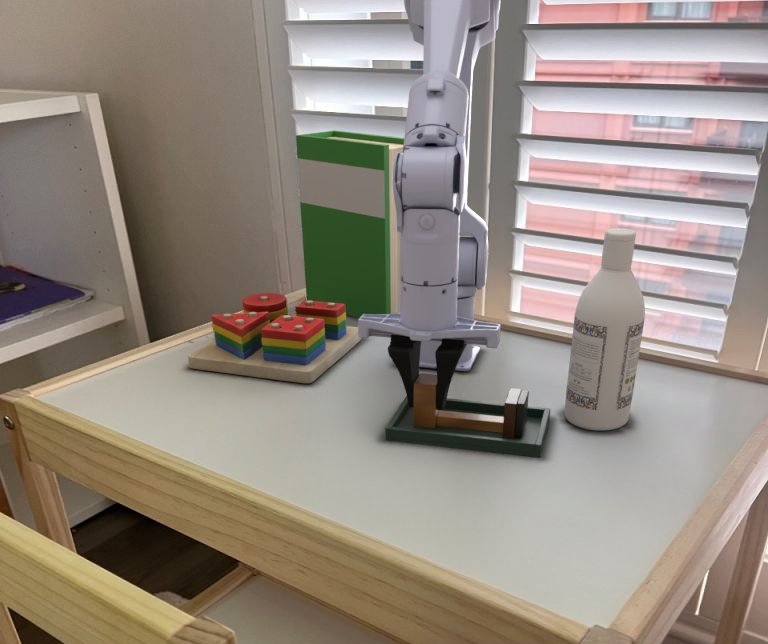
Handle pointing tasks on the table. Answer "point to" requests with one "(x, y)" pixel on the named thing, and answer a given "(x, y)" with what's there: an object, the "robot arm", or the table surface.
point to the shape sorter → (277, 340)
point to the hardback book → (350, 220)
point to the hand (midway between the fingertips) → (427, 405)
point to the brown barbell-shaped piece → (431, 417)
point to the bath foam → (606, 340)
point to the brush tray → (471, 439)
